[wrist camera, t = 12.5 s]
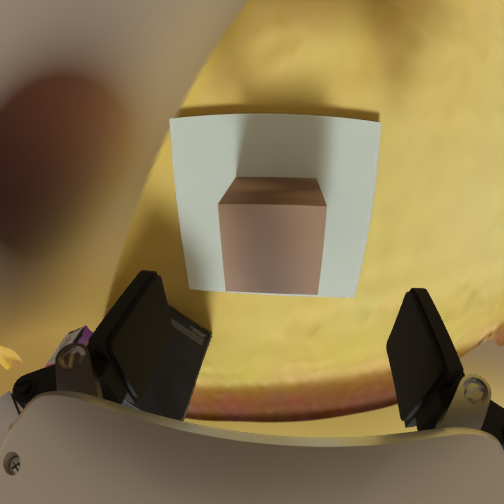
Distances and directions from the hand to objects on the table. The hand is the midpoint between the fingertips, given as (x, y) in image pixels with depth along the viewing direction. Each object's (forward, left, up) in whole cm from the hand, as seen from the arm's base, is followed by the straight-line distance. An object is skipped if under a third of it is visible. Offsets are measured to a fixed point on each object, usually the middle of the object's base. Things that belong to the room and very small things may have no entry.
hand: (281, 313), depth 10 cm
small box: (+12, +14, -10) cm, 21 cm away
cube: (+1, 0, -9) cm, 9 cm away
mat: (+1, 0, -10) cm, 10 cm away
